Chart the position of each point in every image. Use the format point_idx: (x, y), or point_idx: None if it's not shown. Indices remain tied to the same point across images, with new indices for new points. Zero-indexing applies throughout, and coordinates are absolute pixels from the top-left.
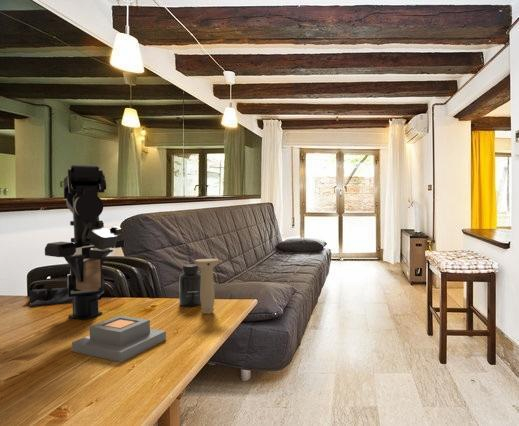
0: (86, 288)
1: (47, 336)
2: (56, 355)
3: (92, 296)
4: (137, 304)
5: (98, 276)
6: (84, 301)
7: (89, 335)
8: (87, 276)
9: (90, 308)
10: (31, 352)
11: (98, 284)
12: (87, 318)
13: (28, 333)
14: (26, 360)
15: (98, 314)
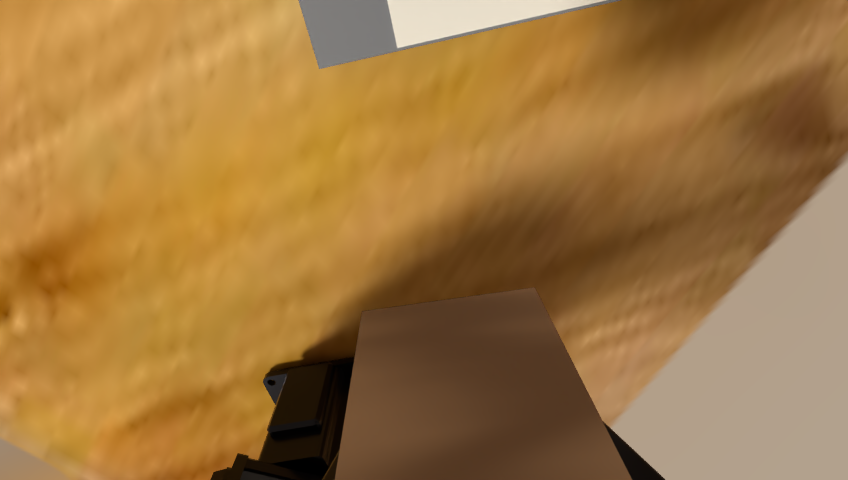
0: (543, 309)
1: (572, 287)
2: (742, 6)
3: (292, 451)
4: (69, 383)
5: (382, 411)
6: (338, 439)
7: (578, 2)
8: (581, 419)
9: (325, 391)
10: (742, 155)
11: (389, 333)
12: (348, 358)
13: (581, 367)
14: (832, 71)
15: (287, 370)
